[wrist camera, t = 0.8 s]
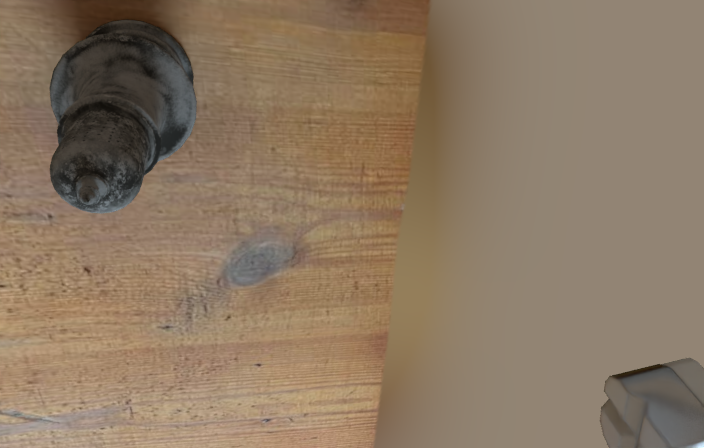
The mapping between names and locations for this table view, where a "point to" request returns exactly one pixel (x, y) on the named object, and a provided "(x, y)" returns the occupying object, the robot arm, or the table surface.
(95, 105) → the chess piece
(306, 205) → the table surface
